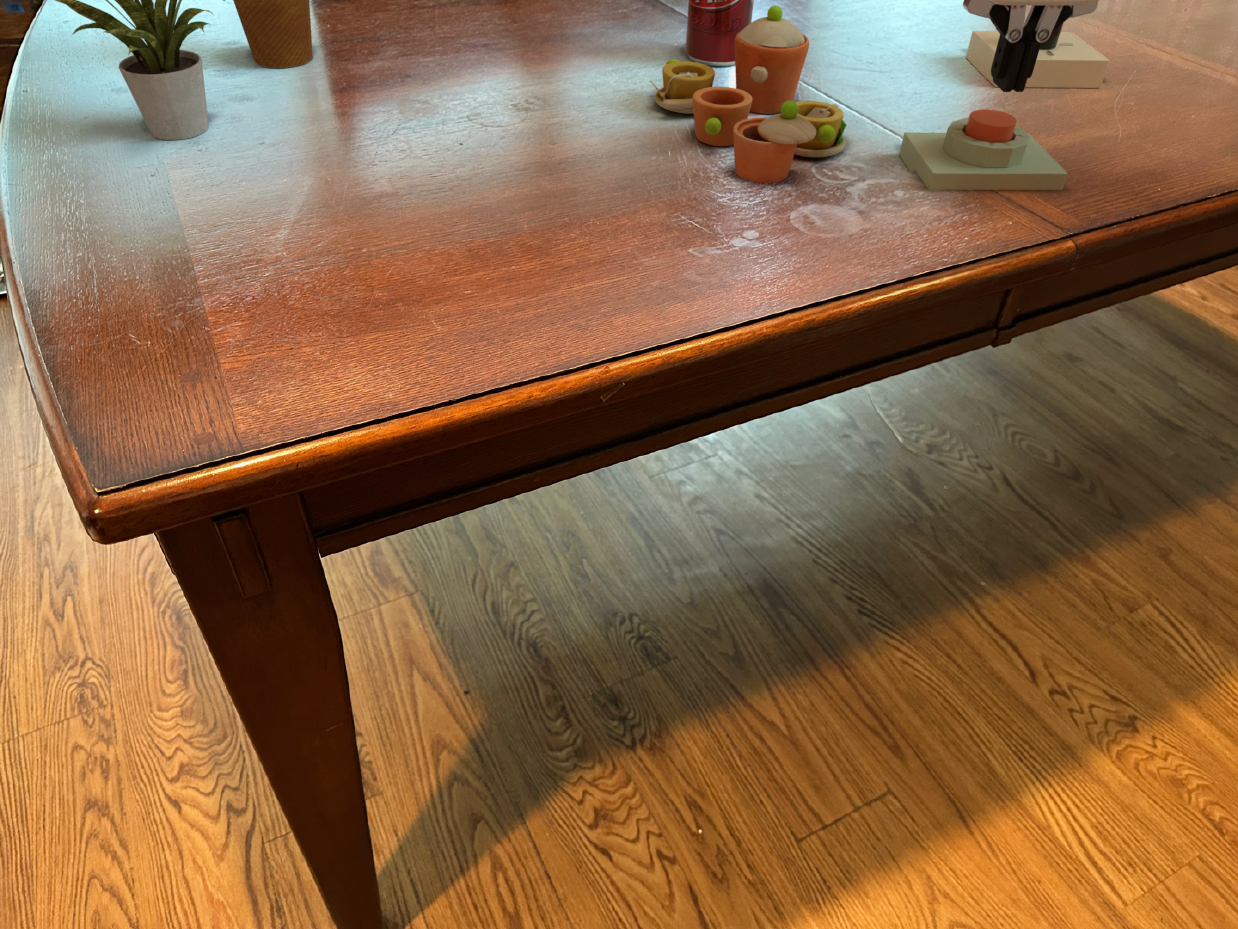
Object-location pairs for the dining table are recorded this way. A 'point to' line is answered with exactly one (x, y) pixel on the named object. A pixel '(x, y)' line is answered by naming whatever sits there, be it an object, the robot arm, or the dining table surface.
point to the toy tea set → (757, 102)
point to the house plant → (158, 63)
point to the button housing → (980, 161)
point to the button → (990, 126)
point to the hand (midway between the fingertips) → (1007, 86)
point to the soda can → (715, 29)
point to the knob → (1052, 39)
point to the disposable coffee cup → (277, 31)
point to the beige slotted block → (1047, 61)
